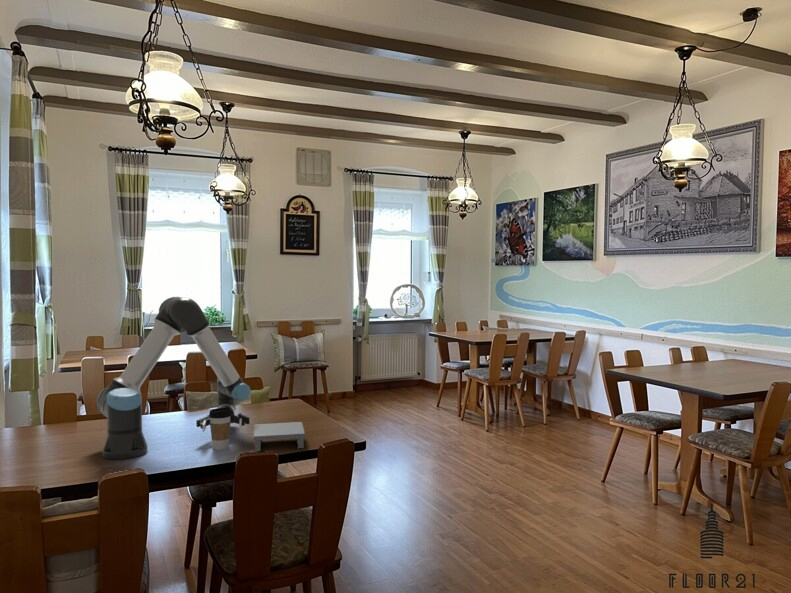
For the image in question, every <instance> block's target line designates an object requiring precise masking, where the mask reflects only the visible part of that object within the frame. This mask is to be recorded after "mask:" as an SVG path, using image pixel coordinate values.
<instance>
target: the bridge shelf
mask: <svg viewBox="0 0 791 593" xmlns="http://www.w3.org/2000/svg"><path fill="white" fill-rule="evenodd" d="M304 438H306V433H305V429H304V425H303V422H302V421H295V422H277V423H275V422H273V423H258V424H257V423H255V424H254V425H253V441H254V452H255V453H258V452H257V451H261V446H262V445H261V443H262V442H261V441H266V440H280V439H281V440H283V439H284V440H285V439H296V440H297V441H296V445H298V446H297V449H298V450H300V449H299V448H304Z"/></svg>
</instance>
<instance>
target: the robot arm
mask: <svg viewBox="0 0 791 593" xmlns="http://www.w3.org/2000/svg"><path fill="white" fill-rule="evenodd" d="M153 321H154V326H153V327H152V330H151V331H150V332H149V333H148V335H147V336H146V337H145V340H143V342H142V344H141V345H140V347H139V348H138V349H137V351H136V352H135V354H134V355H133V357H132V358H131V360H130V361H129V362H128V364H127V366H126V367H125V368H124V370H123V372H122V373H121V374H120V376H118V377H115V378H113V379H112V380H111V382H110V383H109V385H108V386H107V387H105V388H103V389H102V390H101V391H100V393H98V396H97V400H96V406H97V409H98V411H99V413H100V414H101V415H103V416H104V417H105V418H107V419H106V421H107V425H106V426H107V430H106V431H107V435H106V439H105V441H104V443H103V444H104V445H103V448H102V453H101V454H102V457H103V458H104V459H107V460H127V459H133V458H137V457H140V456H143V455H145V454H146V453H147V452H148V443H147V441H146V438H145V435H144V433H143V405H142V404H143V398H142V392H141V391H142V390H141V387H142V385H143V384H144V382H145V381H146V379H147V378H148V376H149V374H151V372H152V371H153V368H154V367H155V366H156V364H157V363H158V362H159V360H160V358H161V357H162V355H163V353H164V352H165V350H166V349H167V348H168V346H169V344H170V343H171V341H173V339H174V337H175V336H178V335H179V336H180V334H181V333H182V332H183V331H185V333H186V335H187V337H191V338H192V339H193V341H194V342H195V344H196V346H197V347H198V349H199V350H200V352H201V353H202V355H203V357H204V358H205V359H206V361H207V363H208V364H209V366H210V367H211V369H212V370H213V372H214V373H215V375H216V377H217V379H216V389H217V390H216V391H217V392H216V393H217V394H216V395H217V396H216V398H217V399H216V401H217V408H231V413H232V415H231V417H230V420H231V424H237V425H239V426H238V427H239V431H241V430H242V427H243V426H245V425H250V423H251V422H250V417H248V416H246V415H244V414H242V413H241V412H239V413H238V414H237V415H235V412H236V409H237V408H236V402H245V401H247V400H248V399H249V398H250V396H251V394H252V393H251V392H252V391H251V390H252V389H251V387H250V386H249V385H248V384H247V383H245V382H244V380H243V379H242V377H241V376H240V375H239V373H238V371H237V369H236V368H235V366H234V365H233V363H232V361H231V359H229V357H228V355H227V354H226V352H225V351H224V349H223V347H222V345H221V344H220V342H219V340H218V339H217V338H216V336H215V334H214V333H213V330H212V329H211V328H210V324H211V323H210V321H209V320H208V318H207V316H206V314H205V312H203V310H202V308H201V307H200V305H199V304H198V303H197V301H195V300H194V299H192V298H189V297H180V296H172V297H168V298H167V299H165V300H163V302H161V304H160V305H159V308H158V313H157V315H156V316H155V318H154V319H153ZM195 424H196V428H200V429H201V430H202V433H203V432H205V431H206V429H207V427H209V426H210V417H209V414H207V415H206V416H204V417H201V418H199V419H196V423H195Z"/></svg>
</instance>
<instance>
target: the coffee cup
mask: <svg viewBox="0 0 791 593" xmlns="http://www.w3.org/2000/svg"><path fill="white" fill-rule="evenodd" d="M208 415H209V417H210V425H209V426H210V434H211V436H210V437H211V444H212V445H211V446H212V449H213V450H215V451H216V450H217V451H220V450H221V451H222V450H227V449H228V448H229V447H230V446H229V445H230V433H231V424H232V423H231V420H230V417H231V415H232V413H231V408H212V409H210V410H209V413H208Z"/></svg>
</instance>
